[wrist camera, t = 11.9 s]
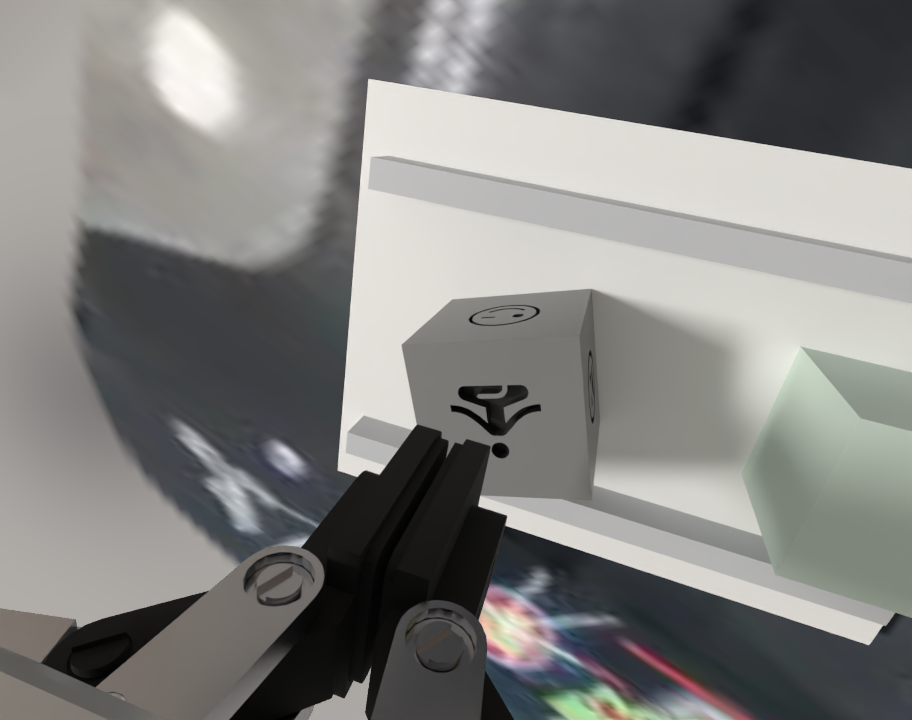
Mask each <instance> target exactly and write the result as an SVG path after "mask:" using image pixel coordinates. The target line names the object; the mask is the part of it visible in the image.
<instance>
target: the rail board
mask: <svg viewBox="0 0 912 720" xmlns="http://www.w3.org/2000/svg"><path fill="white" fill-rule="evenodd" d="M580 289H592V305H593V320H594V335H595V350H596V365H597V380H598V396H599V411H600V427H599V436H598V446H597V456H596V465H595V475H594V485H593V494H592V501H591V500H569V499H547V498H525V497H503V496H481V495H480V500H479V504H478V506H479V507H482V508H485V509H488V510H491V511H494V512H498V513H501V514H504V515H507V521H506V525H505V526H508V527H511V528H514V529H518V530H521V531H524V532H527V533H530V534H533V535H536V536H539V537H542V538H545V539H548V540H551V541H554V542H557V543H560V544H563V545H566V546H569V547H572V548H575V549H578V550H581V551H584V552H587V553H590V554H593V555H597V556H600V557H603V558H606V559H609V560H612V561H615V562H618V563H621V564H624V565H627V566H630V567H633V568H636V569H639V570H642V571H645V572H648V573H651V574H654V575H657V576H660V577H663V578H666V579H669V580H672V581H676V582H679V583H682V584H685V585H688V586H691V587H694V588H697V589H700V590H703V591H706V592H709V593H712V594H715V595H718V596H721V597H724V598H727V599H730V600H733V601H736V602H739V603H742V604H745V605H748V606H752V607H755V608H758V609H761V610H764V611H767V612H770V613H773V614H776V615H779V616H782V617H785V618H788V619H791V620H794V621H797V622H800V623H803V624H806V625H809V626H812V627H815V628H818V629H821V630H824V631H827V632H831V633H834V634H837V635H840V636H843V637H846V638H849V639H852V640H855V641H858V642H861V643H864V644H867V645H870V643H871V642H872V640H873V639H874V638H875V636H876V635H877V633H878V632H879V630H880V629H881V628H882V626H883V625H884V626H886V625H887V624H888V622H889V621H890V620H891V618H892V617H893V615H894V614H895V613H898V614H901V615H905V616H908V617H911V618H912V169H909V168H903V167H897V166H891V165H885V164H879V163H873V162H867V161H861V160H855V159H849V158H843V157H837V156H831V155H825V154H818V153H812V152H806V151H800V150H794V149H788V148H782V147H776V146H770V145H764V144H758V143H752V142H746V141H740V140H734V139H728V138H722V137H716V136H710V135H704V134H698V133H692V132H686V131H680V130H674V129H668V128H662V127H656V126H650V125H644V124H638V123H632V122H626V121H620V120H614V119H607V118H601V117H595V116H589V115H583V114H577V113H571V112H565V111H559V110H553V109H547V108H541V107H535V106H529V105H523V104H517V103H511V102H505V101H499V100H493V99H487V98H481V97H475V96H469V95H463V94H457V93H451V92H445V91H439V90H433V89H427V88H421V87H415V86H409V85H403V84H396V83H390V82H384V81H378V80H372V79H369V80H368V93H367V105H366V118H365V131H364V143H363V156H362V169H361V181H360V194H359V207H358V219H357V232H356V245H355V257H354V270H353V283H352V295H351V308H350V321H349V333H348V346H347V359H346V371H345V384H344V397H343V409H342V422H341V435H340V447H339V460H338V471H341V472H344V473H347V474H350V475H353V476H356V477H358V476H359V475H360V474H361V473H362V472H363V471H366V470H367V471H370V472H373V473H376V474H379V475H380V474H381V472H382V471H383V469H384V468H385V467H386V465H387V464H388V463H389V461H390V460H391V459H392V457H393V456H394V454H395V453H396V452H397V450H398V449H399V448H400V446H401V445H402V444H403V442H404V441H405V440H406V438H407V437H408V435H409V434H410V433H411V431H412V430H413V429H414V427H415V426H416V425H417V423H416V418H415V413H414V408H413V403H412V397H411V392H410V387H409V382H408V377H407V371H406V366H405V361H404V356H403V351H402V346H401V345H402V344H403V343H404V342H405V341H406V340H407V339H408V338H410V337H411V336H412V335H413V334H414V333H415V332H416V331H417V330H419V329H420V328H421V327H422V326H423V325H424V324H425V323H426V322H427V321H429V320H430V319H431V318H432V317H433V316H434V315H435V314H436V313H438V312H439V311H440V310H441V309H442V308H443V307H444V306H445V305H446V304H448V303H449V302H450V301H451V300H452V299H463V298H476V297H489V296H502V295H515V294H528V293H541V292H554V291H567V290H580Z"/></svg>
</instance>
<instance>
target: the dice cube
mask: <svg viewBox="0 0 912 720" xmlns="http://www.w3.org/2000/svg"><path fill="white" fill-rule="evenodd" d="M401 346H402V351H403V356H404V361H405V366H406V371H407V377H408V382H409V387H410V392H411V397H412V403H413V408H414V413H415V418H416V423H417V425H422V426H425V427H429V428H432V429H435V430H439V431H441V432H442V439H446V440H448V441H449V445H448V451H447V456H448V454H449V452H450V450H451V448H452V447H453V445H454V443H459V444H463V443H464V442H465V440H466V439H469V440H472V441H476V442H479V443H483V444H486V445H489V446H491V448H490V454H489V459H488V463H487V468H486V473H485V477H484V482H483V486H482V491H481V496H503V497H525V498H547V499H569V500H591V501H592V494H593V485H594V475H595V465H596V456H597V446H598V436H599V427H600V411H599V396H598V380H597V365H596V350H595V335H594V320H593V305H592V289H580V290H567V291H554V292H541V293H528V294H515V295H502V296H489V297H476V298H463V299H452V300H451V301H450V302H449V303H448V304H446V305H445V306H444V307H443V308H442V309H441V310H440V311H439V312H438V313H436V314H435V315H434V316H433V317H432V318H431V319H430V320H429V321H427V322H426V323H425V324H424V325H423V326H422V327H421V328H420V329H419V330H417V331H416V332H415V333H414V334H413V335H412V336H411V337H410V338H408V339H407V340H406V341H405V342H404V343H403V344H402V345H401ZM447 456H446V457H447Z"/></svg>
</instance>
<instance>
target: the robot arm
mask: <svg viewBox="0 0 912 720" xmlns="http://www.w3.org/2000/svg"><path fill="white" fill-rule="evenodd" d="M448 445H449V441H448V440H446V439H442V432H441V431H439V430H435V429H432V428H429V427H425V426H422V425H416V426H415V427H414V429H413V430H412V431H411V433H410V434H409V435H408V437H407V438H406V440H405V441H404V442H403V444H402V445H401V446H400V448H399V449H398V450H397V452H396V453H395V454H394V456H393V457H392V459H391V460H390V461H389V463H388V464H387V465H386V467H385V468H384V469H383V471H382V472H381V474H380V475H379V474H376V473H373V472H370V471H367V470H366V471H363V472H362V473H361V474H360V475H359V476H358V477H357V478H356V480H355V481H354V482H353V483H352V485H351V486H350V487H349V488H348V490H347V491H346V492H345V493H344V495H343V496H342V497H341V498H340V500H339V501H338V502H337V503H336V505H335V506H334V507H333V509H332V510H331V511H330V512H329V514H328V515H327V516H326V517H325V519H324V520H323V521H322V522H321V524H320V525H319V526H318V527H317V529H316V530H315V531H314V532H313V534H312V535H311V536H310V537H309V539H308V540H307V541H306V542H305V544H304V545H303V546H302V547H301V548H299V547H295V546H277V547H270V548H267V549H264V550H262V551H259V552H257V553H255V554H254V555H252V556H251V557H249V558H248V559H246V560H245V561H244V562H243V563H241V564H240V565H239V566H238V567H237V568H236V569H234V570H233V571H232V572H231V573H230V574H229V575H227V576H226V577H225V578H224V579H223V580H221V581H220V582H219V583H218V584H217V585H215V586H214V587H213V588H212V589H211V590H210V591H207V592H203V593H199V594H195V595H191V596H187V597H184V598H180V599H176V600H172V601H168V602H165V603H161V604H157V605H153V606H150V607H146V608H142V609H138V610H134V611H131V612H127V613H123V614H119V615H115V616H111V617H108V618H104V619H101V620H98V621H95V622H93V623H90V624H87V625H85V626H83V627H77V624H76V620H75V619H69V618H62V617H55V616H48V615H42V614H35V613H28V612H20V611H14V610H7V609H0V720H308V719H309V717H310V715H311V713H312V711H313V708H314V705H315V704H318V703H321V702H323V701H326V700H328V699H331V698H332V696H333V694H335V695H337V696H340V697H342V698H345V696H346V694H347V692H348V690H349V688H350V686H351V684H352V682H353V680H354V681H356V682H359V683H363V681H364V680H365V678H366V676H367V674H368V672H369V670H370V668H371V674H370V682H369V689H368V697H367V704H366V711H365V713H366V716H367V718H368V720H514V719H513V717H512V716H511V714H510V712H509V710H508V709H507V707H506V705H505V704H504V702H503V700H502V699H501V697H500V695H499V693H498V692H497V690H496V688H495V687H494V685H493V683H492V681H491V680H490V678H489V676H488V675H487V673H486V671H485V666H486V655H487V642H486V635H485V633H484V630H483V628H482V626H481V624H480V622H479V621H478V620H479V617H480V614H481V610H482V607H483V604H484V601H485V597H486V594H487V591H488V587H489V584H490V581H491V577H492V574H493V570H494V567H495V563H496V560H497V556H498V552H499V549H500V545H501V541H502V537H503V533H504V529H505V525H506V521H507V515H504V514H501V513H498V512H494V511H491V510H488V509H485V508H482V507H479V506H478V504H479V500H480V495H481V491H482V486H483V482H484V477H485V473H486V468H487V463H488V459H489V454H490V448H491V446H489V445H486V444H483V443H479V442H476V441H472V440H469V439H466V440H465V442H464V443H463V444H459V443H454V445H453V447H452V448H451V450H450V452H449V454H448V456H447V451H448ZM446 456H447V457H446ZM371 666H372V667H371Z"/></svg>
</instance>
